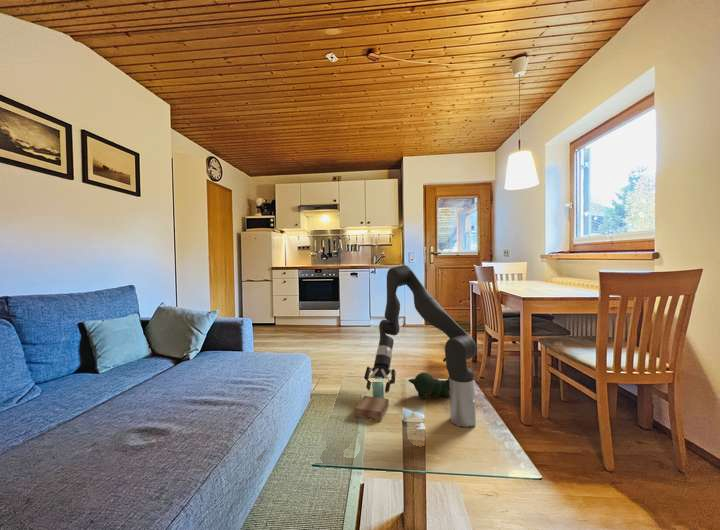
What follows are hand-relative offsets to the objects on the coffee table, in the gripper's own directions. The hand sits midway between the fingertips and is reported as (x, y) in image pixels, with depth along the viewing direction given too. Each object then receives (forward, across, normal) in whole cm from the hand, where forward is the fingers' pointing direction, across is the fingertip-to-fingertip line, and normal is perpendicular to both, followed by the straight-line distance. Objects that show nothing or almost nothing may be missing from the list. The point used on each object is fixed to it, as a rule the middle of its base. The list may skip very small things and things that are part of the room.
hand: (377, 390), depth 139 cm
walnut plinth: (+10, +1, -4) cm, 11 cm away
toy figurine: (-5, +24, +12) cm, 27 cm away
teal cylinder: (+3, 0, +4) cm, 5 cm away
